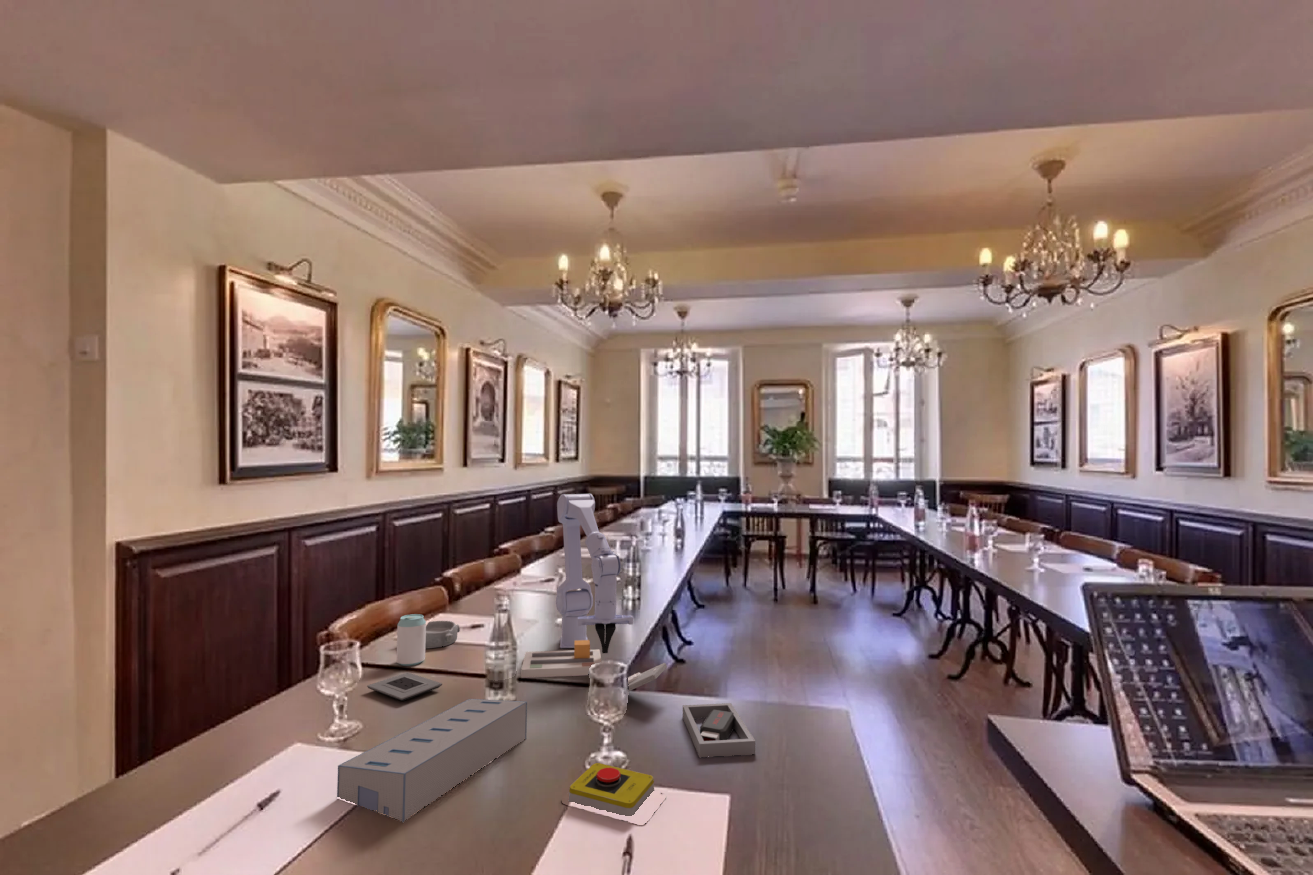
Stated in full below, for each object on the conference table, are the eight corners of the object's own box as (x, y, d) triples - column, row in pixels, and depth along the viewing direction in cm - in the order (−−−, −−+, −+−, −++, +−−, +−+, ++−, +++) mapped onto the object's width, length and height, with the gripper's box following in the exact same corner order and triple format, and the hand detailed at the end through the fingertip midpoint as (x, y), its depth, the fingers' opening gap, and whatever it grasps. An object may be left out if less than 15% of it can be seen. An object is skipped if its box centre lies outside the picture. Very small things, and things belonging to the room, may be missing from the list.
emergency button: (588, 752, 104) (668, 771, 98) (587, 778, 104) (668, 798, 98) (558, 778, 96) (644, 800, 90) (558, 806, 96) (644, 830, 90)
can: (418, 666, 157) (419, 620, 158) (391, 666, 157) (392, 620, 158) (429, 658, 164) (430, 613, 165) (403, 657, 164) (404, 613, 165)
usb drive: (736, 723, 124) (736, 710, 125) (721, 749, 113) (721, 734, 113) (711, 719, 126) (712, 706, 126) (695, 744, 115) (695, 730, 115)
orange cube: (574, 655, 161) (574, 640, 161) (589, 655, 161) (589, 640, 161) (574, 660, 157) (574, 645, 157) (589, 660, 157) (590, 644, 157)
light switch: (612, 682, 143) (663, 658, 139) (623, 705, 142) (675, 682, 138) (597, 695, 135) (651, 670, 131) (608, 720, 134) (663, 696, 130)
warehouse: (468, 726, 123) (469, 689, 124) (526, 741, 117) (527, 701, 118) (336, 801, 96) (338, 753, 96) (403, 825, 90) (404, 773, 90)
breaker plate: (525, 659, 164) (525, 648, 164) (599, 656, 166) (599, 646, 167) (521, 677, 150) (521, 666, 150) (601, 674, 153) (602, 663, 153)
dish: (397, 649, 172) (397, 631, 172) (423, 635, 186) (423, 618, 186) (444, 652, 170) (444, 634, 170) (467, 638, 183) (467, 621, 184)
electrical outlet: (441, 692, 141) (442, 682, 141) (401, 707, 132) (401, 696, 132) (407, 680, 148) (407, 671, 148) (366, 694, 140) (367, 684, 140)
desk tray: (682, 717, 128) (682, 705, 128) (730, 715, 129) (730, 703, 129) (699, 757, 110) (699, 744, 111) (755, 754, 112) (755, 740, 112)
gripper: (578, 604, 155) (577, 658, 155) (634, 603, 157) (633, 656, 157) (577, 598, 162) (577, 649, 162) (631, 597, 164) (631, 647, 164)
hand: (604, 652), depth 160 cm, fingers closed
